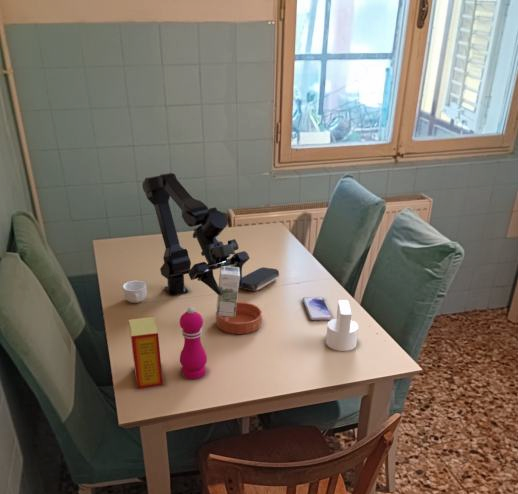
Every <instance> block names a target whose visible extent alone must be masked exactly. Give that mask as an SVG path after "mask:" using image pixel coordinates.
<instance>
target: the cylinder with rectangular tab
mask: <svg viewBox="0 0 518 494" xmlns="http://www.w3.org/2000/svg"><path fill="white" fill-rule="evenodd" d="M352 316H353V315H352V310H351V305H350V301H349V300H347V299H339V300H337V309H336V318H332V319H331V320H328V322H327V324H326V325H327V327H326V335H325V336H326V338H325V344H326V346H327V347H328V348H330V349H332V350H334V351H339V352H340V351H341V352H348V351H351V350H353V349H356V346H357V341H358V334H359V324H358V323H357V322H356V321H355V320H352Z"/></svg>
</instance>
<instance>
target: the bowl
mask: <svg viewBox="0 0 518 494" xmlns="http://www.w3.org/2000/svg"><path fill="white" fill-rule="evenodd" d="M215 323H216V327H217V328H218V329H219V330H221V331H223V332H225V333H228V334H236V335H243V334H244V335H245V334H249V333H253V332H255V331H257V330H259V329H260V328H261V327H262V324H263V310H262V309H261V308H260V307H259V306H258V305H255V304H253V303H250V302H244V301H237V305H236V313H235V317H222V316H217V310H216V311H215Z"/></svg>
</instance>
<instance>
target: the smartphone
mask: <svg viewBox="0 0 518 494" xmlns="http://www.w3.org/2000/svg"><path fill="white" fill-rule="evenodd" d="M302 301H303V304H304V306H305V308H306V312H307V315H308V316H309V319H310V320H311V321H330V320H332V319H333V316H332V314H331V312H330V309H329V307H328V305H327V304H326V301H325V300H324V297H322V296H310V297H309V296H307V297H306V296H304V297H302Z"/></svg>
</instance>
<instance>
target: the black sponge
mask: <svg viewBox="0 0 518 494" xmlns="http://www.w3.org/2000/svg"><path fill="white" fill-rule="evenodd" d="M279 277H280V272H279V269H276V268H272V267H271V268H270V267H263V266H262V267H259V268H257V269H255V270H254V271H252V272H249V273H248V274H246V275H244V276H242V282H243V287H242V288H240V287H239V288H238V289H245V290H248V291H252V292H253V291H254V292H257V291H259V290H262V289H263V288H264V287H266V286H267V285H269V284H271V283H273V282H274V281H277V280H278V279H279Z"/></svg>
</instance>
